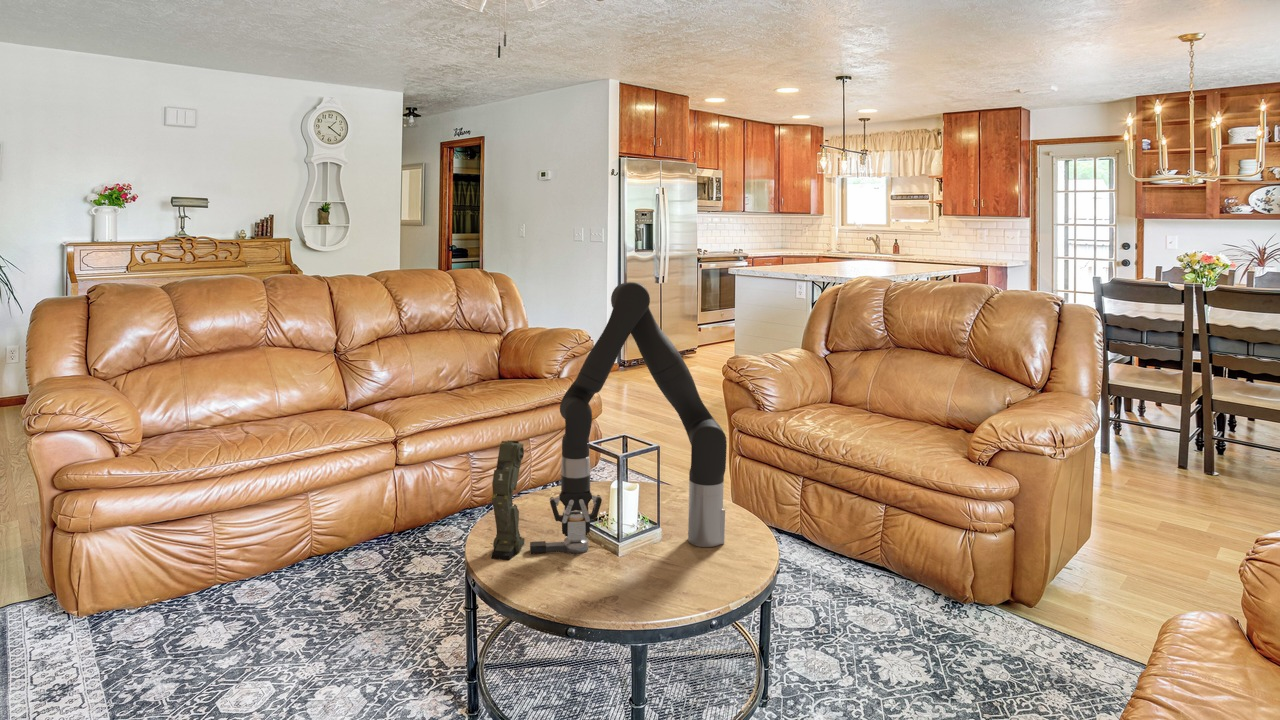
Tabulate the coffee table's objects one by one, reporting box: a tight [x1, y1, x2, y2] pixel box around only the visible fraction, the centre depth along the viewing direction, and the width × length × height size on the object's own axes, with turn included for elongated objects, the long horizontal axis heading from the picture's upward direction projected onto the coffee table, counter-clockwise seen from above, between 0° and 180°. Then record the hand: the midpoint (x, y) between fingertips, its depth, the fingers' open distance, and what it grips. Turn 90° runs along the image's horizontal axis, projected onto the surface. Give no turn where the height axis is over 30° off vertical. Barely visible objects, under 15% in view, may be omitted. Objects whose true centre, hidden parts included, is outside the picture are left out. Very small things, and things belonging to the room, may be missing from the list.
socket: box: [566, 510, 587, 540], centre depth 198 cm, size 5×5×7 cm
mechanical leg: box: [490, 440, 525, 561], centre depth 196 cm, size 14×7×30 cm, turn 169°
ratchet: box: [529, 536, 589, 555], centre depth 198 cm, size 15×6×6 cm, turn 100°
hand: (575, 534), depth 198 cm, fingers closed on socket, 4 cm apart
